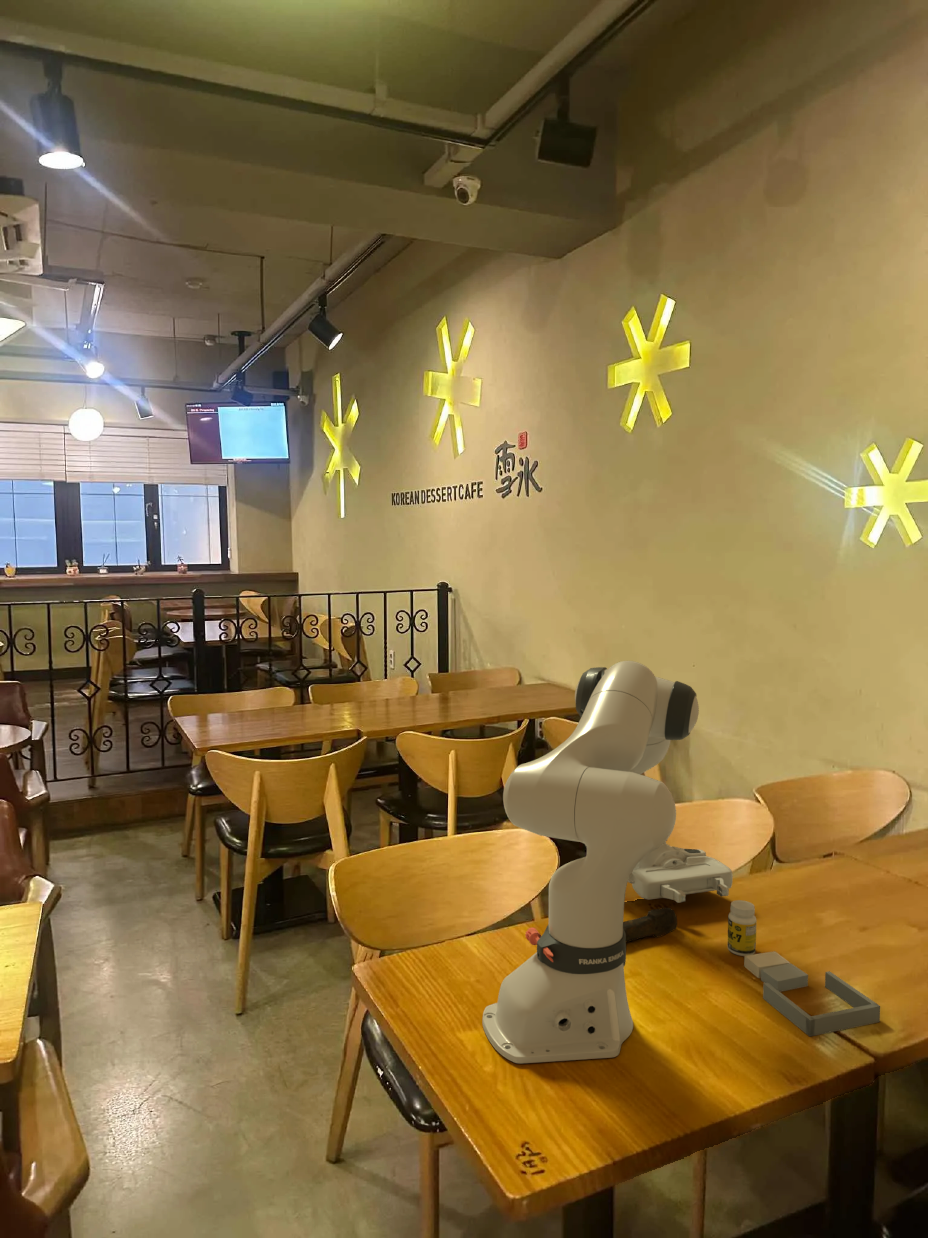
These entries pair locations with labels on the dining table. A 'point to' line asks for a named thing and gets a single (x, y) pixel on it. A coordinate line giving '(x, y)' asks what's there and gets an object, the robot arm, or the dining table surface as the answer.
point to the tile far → (763, 962)
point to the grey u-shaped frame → (827, 1022)
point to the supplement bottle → (742, 928)
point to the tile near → (784, 977)
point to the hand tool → (651, 924)
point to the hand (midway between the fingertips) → (704, 895)
